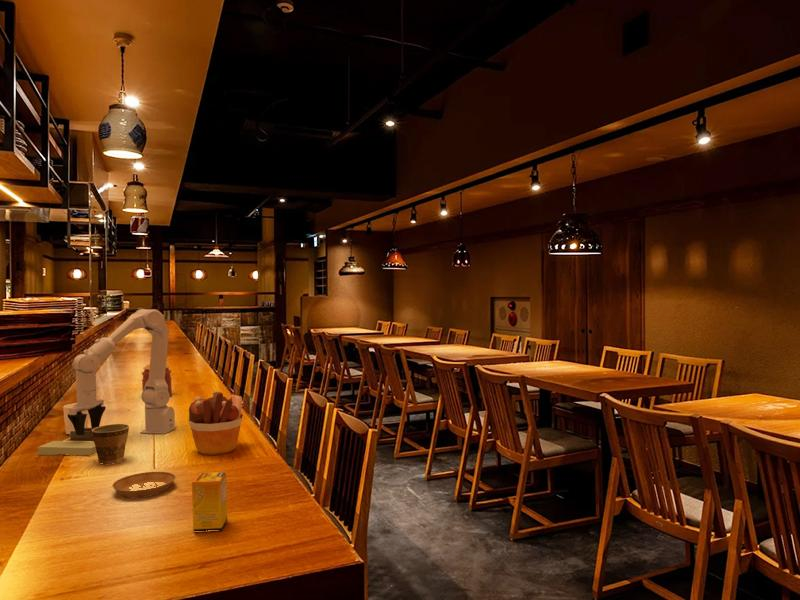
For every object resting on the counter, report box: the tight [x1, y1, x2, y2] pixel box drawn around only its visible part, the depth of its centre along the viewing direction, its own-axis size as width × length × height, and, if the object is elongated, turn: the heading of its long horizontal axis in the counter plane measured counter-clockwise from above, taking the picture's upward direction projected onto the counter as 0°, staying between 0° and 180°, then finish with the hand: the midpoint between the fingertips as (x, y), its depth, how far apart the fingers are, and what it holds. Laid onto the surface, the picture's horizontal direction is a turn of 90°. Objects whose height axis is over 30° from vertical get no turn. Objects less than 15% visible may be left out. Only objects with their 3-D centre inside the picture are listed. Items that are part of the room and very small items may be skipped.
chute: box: [69, 427, 94, 441], centre depth 186 cm, size 8×5×5 cm, turn 83°
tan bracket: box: [37, 437, 97, 456], centre depth 182 cm, size 18×13×3 cm
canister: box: [141, 363, 173, 397], centre depth 267 cm, size 13×13×18 cm
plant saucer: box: [112, 471, 177, 498], centre depth 145 cm, size 15×15×3 cm
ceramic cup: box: [90, 423, 130, 465], centre depth 169 cm, size 13×10×10 cm
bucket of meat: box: [188, 390, 243, 456], centre depth 178 cm, size 20×16×20 cm
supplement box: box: [191, 471, 228, 532], centre depth 122 cm, size 6×6×11 cm
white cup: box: [62, 402, 89, 435], centre depth 203 cm, size 8×8×10 cm
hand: (87, 431), depth 186 cm, fingers open, 7 cm apart
